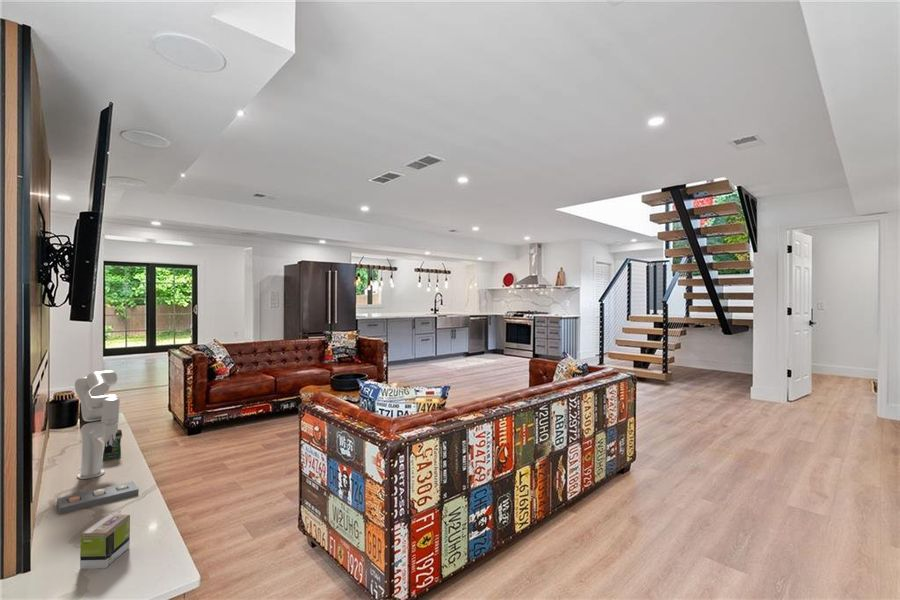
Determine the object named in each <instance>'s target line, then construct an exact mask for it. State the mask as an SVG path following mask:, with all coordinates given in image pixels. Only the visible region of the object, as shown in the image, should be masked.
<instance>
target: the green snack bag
mask: <svg viewBox="0 0 900 600" xmlns="http://www.w3.org/2000/svg"><path fill="white" fill-rule="evenodd" d="M122 437H123V431H122V429H118V431H117V433H116V436H115V441H114V442H112V453H107V454H105V453H104V451H102V460H104V461H109V460H117V459H119V458H121V456H122V447H121V446H122V445H121V441H122V440H121V439H122Z"/></svg>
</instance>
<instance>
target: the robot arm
mask: <svg viewBox="0 0 900 600" xmlns="http://www.w3.org/2000/svg"><path fill="white" fill-rule="evenodd" d="M117 382H118V374H117V372H115V371H114V370H101V371H94V372H90V373H88V375H87V376H81V377H79V378H77V379H76V380H75V382H74V389H75V393H76V394H77V397H78V398H79V400H80V410H81V417H82V419H83V421H84V422H88V423H85V424H83V425H82V426H81V427H80V437H81V459H80V461H81V463H80V464H81V465H80V473H78V474H77V475H76V477H77V479H80V480H88V479H93V478H97V477H100V476H102V475H104V474H105V469H102V462H103V452H104V453H105V454H107V453H112V442H114V441H115V436H116V433H117V431H118V430H119V426H118V425H119V415H120V403H121V402H120V400H121V399H120V397H119V396H118V395H117V394H106V393H108V391H109V390H110V388H111V387H112V386H114V385H115V384H116V383H117ZM99 438H100V440H99ZM102 442H103V443H104V448H103V443H102Z"/></svg>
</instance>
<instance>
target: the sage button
mask: <svg viewBox="0 0 900 600" xmlns="http://www.w3.org/2000/svg"><path fill="white" fill-rule="evenodd" d="M124 489H127V485H122V486H119V487H117V491H120V490H124Z"/></svg>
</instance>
